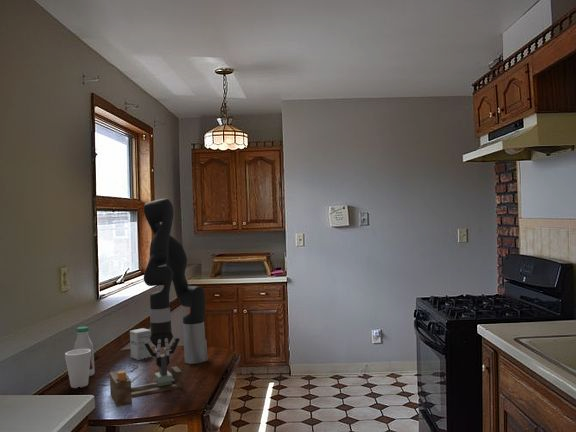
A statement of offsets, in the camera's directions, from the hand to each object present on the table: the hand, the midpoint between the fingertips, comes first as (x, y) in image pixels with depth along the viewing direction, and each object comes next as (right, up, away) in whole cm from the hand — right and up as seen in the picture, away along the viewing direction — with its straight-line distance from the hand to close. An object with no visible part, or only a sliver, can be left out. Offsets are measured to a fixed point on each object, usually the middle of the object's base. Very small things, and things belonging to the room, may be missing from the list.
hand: (162, 365), depth 189 cm
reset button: (-10, -2, -14) cm, 18 cm away
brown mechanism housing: (-4, -8, -6) cm, 11 cm away
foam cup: (-34, -10, +8) cm, 37 cm away
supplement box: (-21, -10, +46) cm, 52 cm away
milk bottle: (-38, -10, +21) cm, 44 cm away
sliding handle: (0, -7, 0) cm, 7 cm away
